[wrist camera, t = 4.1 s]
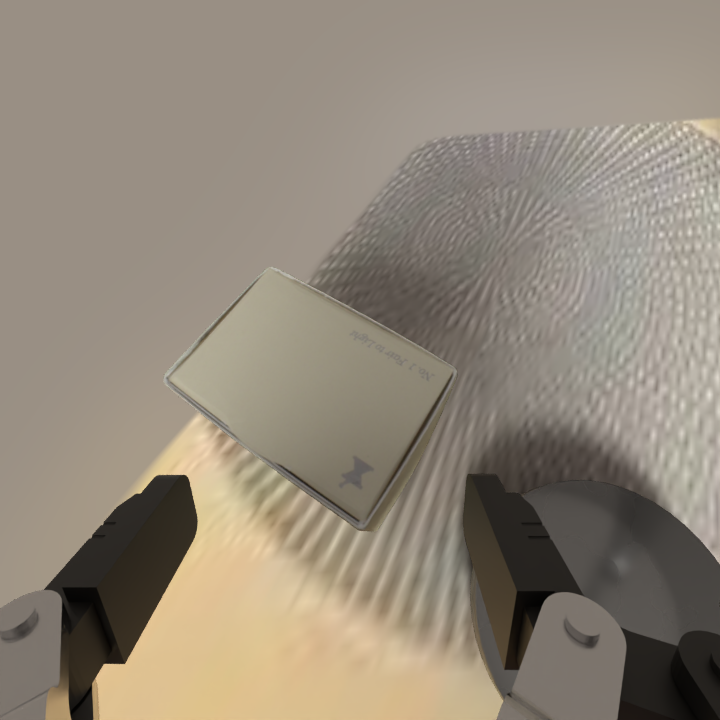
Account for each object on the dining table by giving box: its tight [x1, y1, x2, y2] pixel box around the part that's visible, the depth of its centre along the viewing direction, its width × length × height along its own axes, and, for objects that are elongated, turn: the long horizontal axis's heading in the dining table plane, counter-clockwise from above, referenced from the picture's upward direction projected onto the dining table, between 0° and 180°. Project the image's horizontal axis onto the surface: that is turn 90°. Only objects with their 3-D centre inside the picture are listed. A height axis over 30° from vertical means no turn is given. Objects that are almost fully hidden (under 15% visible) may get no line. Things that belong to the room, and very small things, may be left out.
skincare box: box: [164, 267, 458, 532], centre depth 14 cm, size 6×4×12 cm
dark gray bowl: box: [470, 480, 720, 701], centre depth 16 cm, size 10×10×3 cm
